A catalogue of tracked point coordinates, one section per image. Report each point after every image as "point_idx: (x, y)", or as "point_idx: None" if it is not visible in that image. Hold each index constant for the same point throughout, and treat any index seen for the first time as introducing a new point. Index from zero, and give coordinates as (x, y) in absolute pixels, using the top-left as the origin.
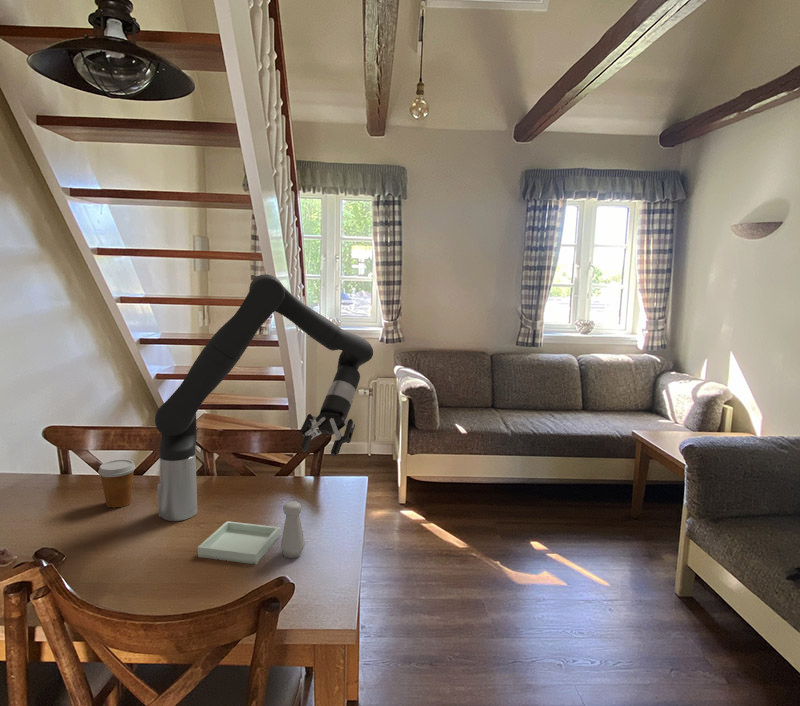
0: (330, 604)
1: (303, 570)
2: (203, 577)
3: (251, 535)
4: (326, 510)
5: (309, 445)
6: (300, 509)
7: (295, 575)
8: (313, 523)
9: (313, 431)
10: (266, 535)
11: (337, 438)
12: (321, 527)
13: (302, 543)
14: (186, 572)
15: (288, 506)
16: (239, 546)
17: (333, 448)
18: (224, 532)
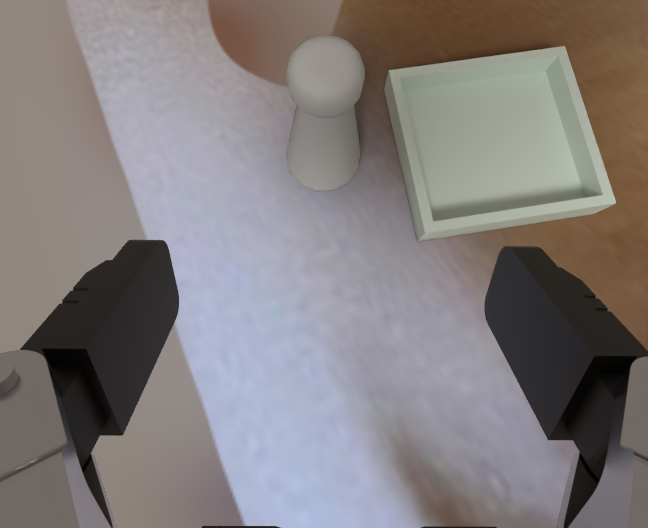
0: (126, 18)
1: (251, 109)
2: (463, 4)
3: (495, 199)
4: (377, 490)
5: (515, 368)
6: (287, 78)
7: (260, 84)
8: (366, 366)
9: (613, 463)
10: (453, 215)
11: (24, 370)
12: (325, 350)
13: (287, 149)
14: (515, 6)
15: (328, 37)
16: (481, 133)
17: (121, 262)
18: (581, 179)
